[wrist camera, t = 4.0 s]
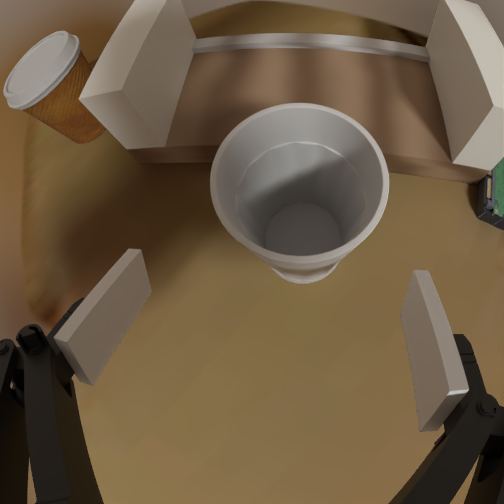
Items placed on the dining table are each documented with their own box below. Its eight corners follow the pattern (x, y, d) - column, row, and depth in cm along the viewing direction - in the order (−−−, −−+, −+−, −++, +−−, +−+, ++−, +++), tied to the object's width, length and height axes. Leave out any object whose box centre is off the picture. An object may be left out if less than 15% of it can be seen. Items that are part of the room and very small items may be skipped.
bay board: (449, 75, 27) (459, 53, 23) (476, 184, 24) (494, 166, 20) (173, 63, 32) (162, 42, 29) (140, 164, 29) (122, 145, 26)
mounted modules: (457, 58, 24) (478, 4, 16) (490, 170, 21) (536, 120, 13) (164, 47, 30) (137, -4, 22) (126, 149, 27) (78, 99, 19)
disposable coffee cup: (136, 85, 33) (87, 16, 21) (110, 153, 31) (42, 88, 19) (78, 97, 34) (28, 43, 23) (52, 159, 32) (-13, 110, 21)
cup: (370, 266, 24) (421, 214, 12) (277, 311, 24) (251, 296, 13) (324, 181, 26) (332, 83, 14) (237, 221, 26) (187, 143, 15)
